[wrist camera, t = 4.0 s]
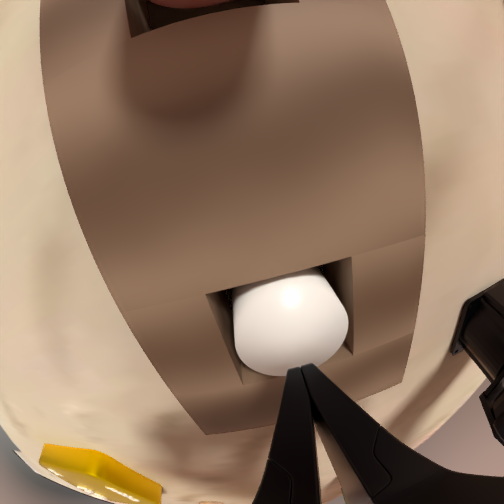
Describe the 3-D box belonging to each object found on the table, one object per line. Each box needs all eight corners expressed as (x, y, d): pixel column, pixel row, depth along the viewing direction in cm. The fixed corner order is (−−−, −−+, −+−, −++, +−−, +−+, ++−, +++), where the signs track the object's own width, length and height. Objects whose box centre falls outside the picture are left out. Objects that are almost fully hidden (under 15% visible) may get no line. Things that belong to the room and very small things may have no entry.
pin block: (376, 341, 17) (401, 382, 13) (206, 385, 17) (205, 434, 13) (291, -81, 5) (308, -117, 1) (80, -32, 5) (49, -60, 2)
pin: (321, 305, 15) (348, 358, 11) (243, 325, 15) (250, 385, 11) (311, 232, 13) (346, 274, 9) (220, 255, 13) (219, 307, 9)
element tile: (167, 486, 28) (166, 510, 24) (102, 480, 29) (98, 500, 25) (100, 447, 22) (93, 478, 18) (40, 440, 23) (32, 463, 19)
